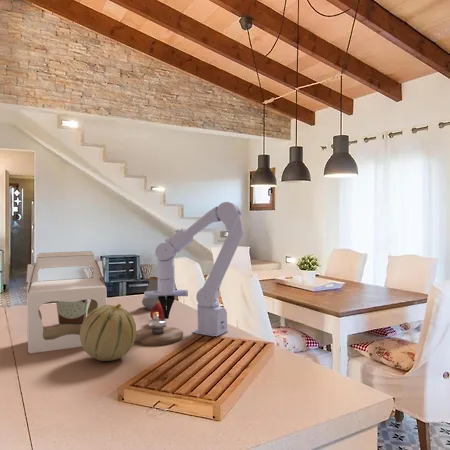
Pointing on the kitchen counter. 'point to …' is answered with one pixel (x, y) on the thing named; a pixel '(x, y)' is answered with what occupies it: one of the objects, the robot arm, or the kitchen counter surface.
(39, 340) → the gable box
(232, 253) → the robot arm
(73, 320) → the food container
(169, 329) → the base
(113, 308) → the cantaloupe
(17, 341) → the kitchen counter surface
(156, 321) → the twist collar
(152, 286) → the coffee pot
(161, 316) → the onion
